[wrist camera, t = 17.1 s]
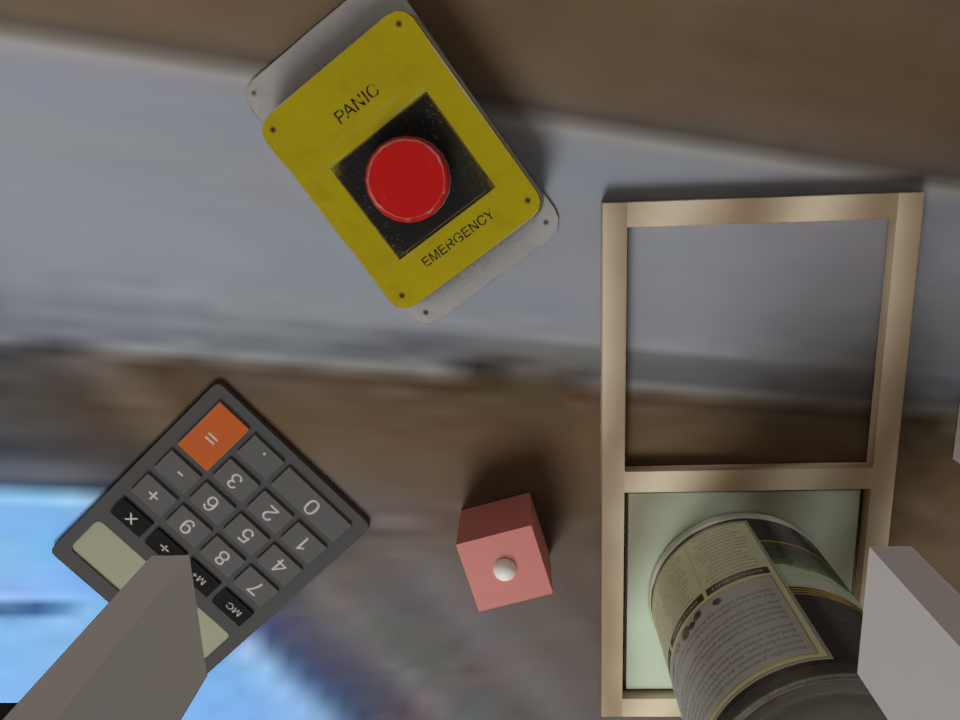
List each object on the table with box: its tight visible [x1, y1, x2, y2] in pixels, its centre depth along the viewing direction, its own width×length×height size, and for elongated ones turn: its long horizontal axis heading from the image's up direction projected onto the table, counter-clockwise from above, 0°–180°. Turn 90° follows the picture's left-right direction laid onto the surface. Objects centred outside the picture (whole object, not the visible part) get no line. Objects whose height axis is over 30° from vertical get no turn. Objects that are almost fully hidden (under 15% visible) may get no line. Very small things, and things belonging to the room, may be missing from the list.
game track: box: [600, 192, 925, 717], centre depth 42 cm, size 15×30×1 cm, turn 2°
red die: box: [456, 492, 553, 611], centre depth 42 cm, size 4×4×5 cm
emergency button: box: [247, 0, 559, 324], centre depth 38 cm, size 9×4×15 cm
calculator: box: [52, 383, 370, 673], centre depth 45 cm, size 12×1×15 cm
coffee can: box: [648, 512, 888, 720], centre depth 37 cm, size 10×10×14 cm
